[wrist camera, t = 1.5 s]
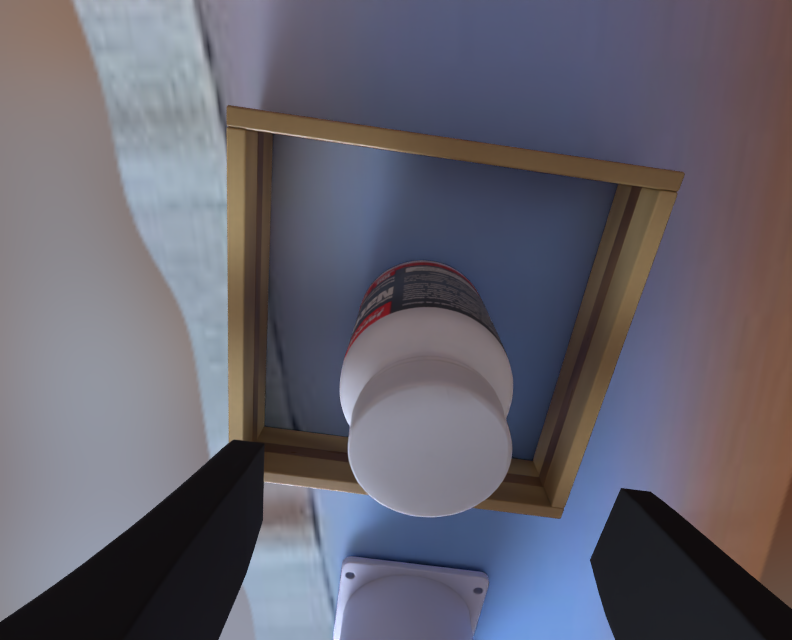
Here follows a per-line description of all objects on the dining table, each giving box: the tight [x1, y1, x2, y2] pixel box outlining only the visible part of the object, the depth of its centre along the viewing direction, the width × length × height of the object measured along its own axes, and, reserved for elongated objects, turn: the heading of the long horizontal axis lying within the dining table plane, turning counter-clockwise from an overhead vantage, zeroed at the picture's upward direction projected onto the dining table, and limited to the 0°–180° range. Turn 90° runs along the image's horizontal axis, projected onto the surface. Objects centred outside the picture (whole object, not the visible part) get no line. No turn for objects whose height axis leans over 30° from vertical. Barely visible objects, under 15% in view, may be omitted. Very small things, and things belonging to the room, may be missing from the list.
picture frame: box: [227, 105, 685, 519], centre depth 17 cm, size 14×14×3 cm
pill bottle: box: [340, 260, 513, 517], centre depth 15 cm, size 5×5×9 cm
